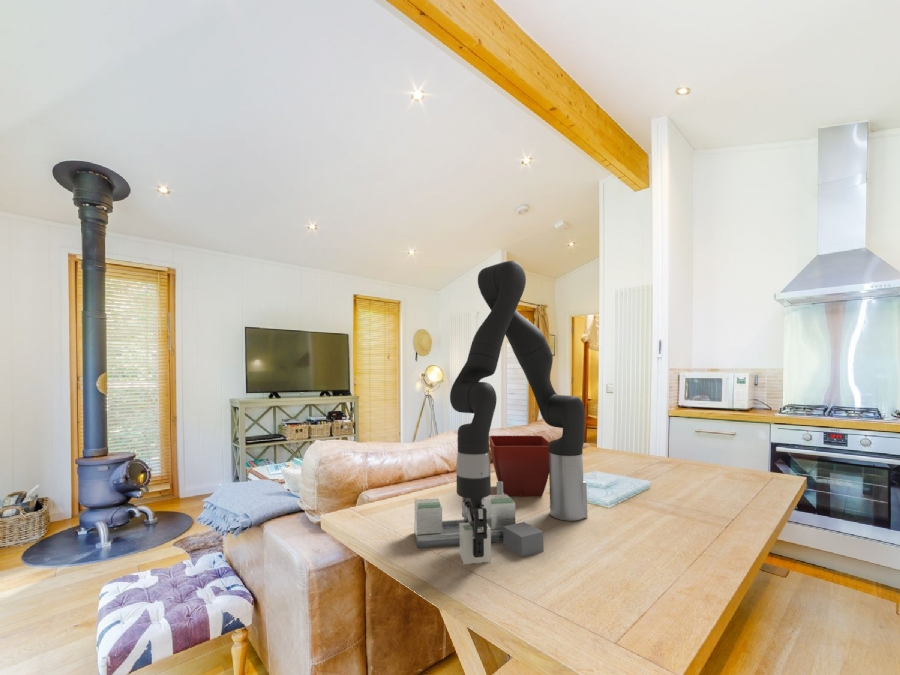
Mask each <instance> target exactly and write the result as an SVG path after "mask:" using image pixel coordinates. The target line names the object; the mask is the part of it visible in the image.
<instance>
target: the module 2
mask: <svg viewBox="0 0 900 675" xmlns="http://www.w3.org/2000/svg"><path fill="white" fill-rule="evenodd" d="M503 536H504V541H503V546H504V547H505V546H506V547H505V548H507V549H508V548H509V549H508V550H510V551H512V552H513V553H515V554H516V555H517V556H520V558H525V557H529V556H533V555H536V554H539V553H543V552H544V531H543V530H540V529H539V528H537V527H535V526H533V525H530V524H529V523H527V522H525V521H522V522H518V523H515V524H512V525H508V526H504V527H503Z"/></svg>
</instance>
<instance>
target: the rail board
mask: <svg viewBox="0 0 900 675" xmlns="http://www.w3.org/2000/svg"><path fill="white" fill-rule="evenodd" d="M484 508H486V510H487V512H486V513H487V524H488V526H489V527H490V529H491V543H498V542H497V541H501V542H504V536H503V527H504V526H508V525H512V524H516V502H515V501H514V499H513V498H512V497H509V496H508V495H507V494H501V495H497V494H490V495H489V496H487V497H484ZM463 519H464V518H463ZM463 519H462V518H461V519H452V520H451V519H449V520H447V519H446V520H443V506H442V504H441V502H440V499H439V497H437V498H422V499H414V524H413V525H414V528H413V529H414V538H415V544H416V548H417V549H422V548H424V549H425V548H436V547H435V546H438V547H447V546H446V545H450V546H459V545H458V544H460V533H459V523H464V520H463Z"/></svg>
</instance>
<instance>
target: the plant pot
mask: <svg viewBox="0 0 900 675" xmlns="http://www.w3.org/2000/svg"><path fill="white" fill-rule="evenodd" d="M550 442H551V441H549V440H548V439H547V438H546V437H544V436H543V435H489V449H490V453H491V460H492V465H493V467H494V472H495V476H496V479H497V482H498V481H502V482H503V493H504V494H507V495H508V496H509V497H510V498H512V497H520V498H521V497H533V498H535V497H542V496H543V495H544V492H545V489H546V486H547V482H548V479H549V443H550Z"/></svg>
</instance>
